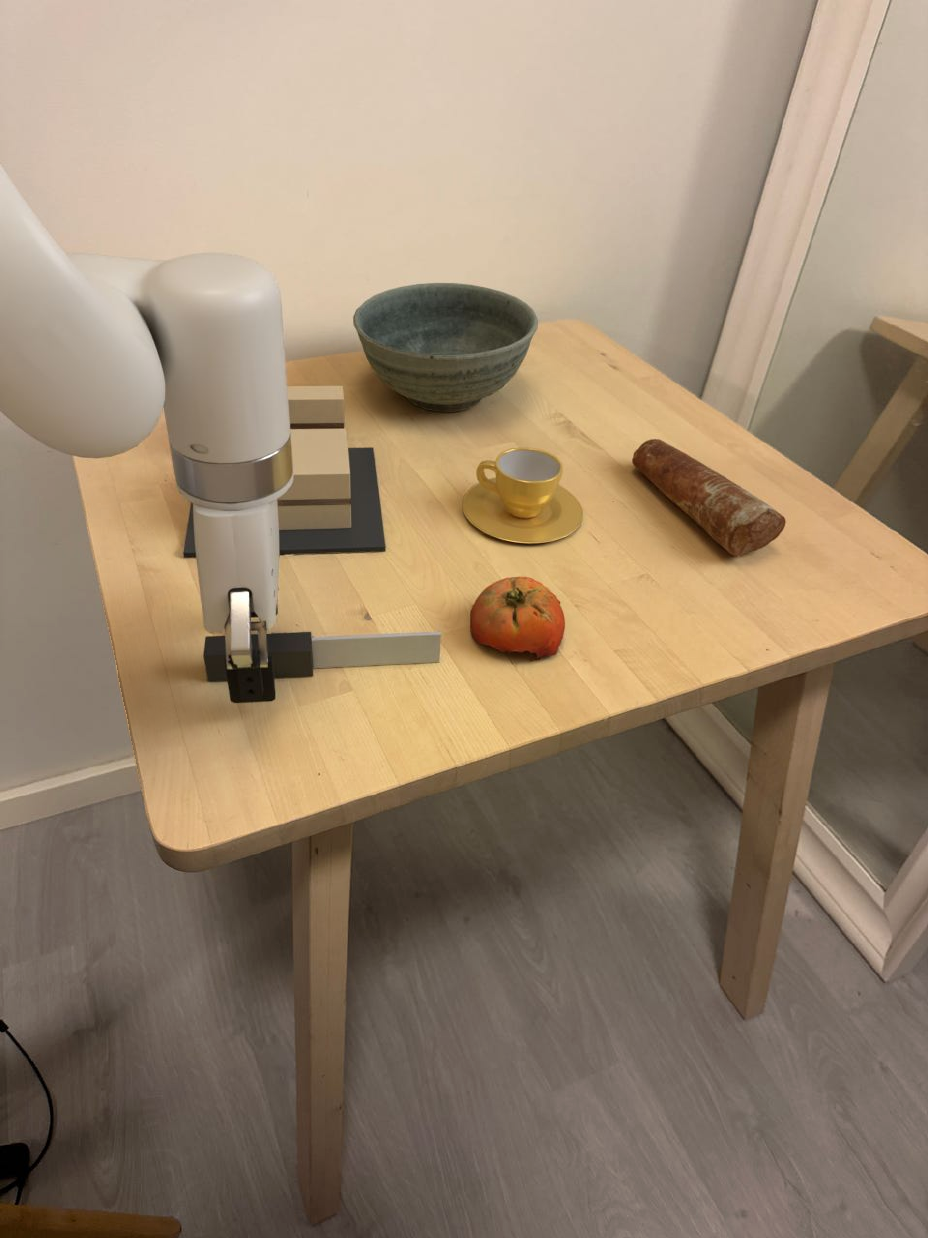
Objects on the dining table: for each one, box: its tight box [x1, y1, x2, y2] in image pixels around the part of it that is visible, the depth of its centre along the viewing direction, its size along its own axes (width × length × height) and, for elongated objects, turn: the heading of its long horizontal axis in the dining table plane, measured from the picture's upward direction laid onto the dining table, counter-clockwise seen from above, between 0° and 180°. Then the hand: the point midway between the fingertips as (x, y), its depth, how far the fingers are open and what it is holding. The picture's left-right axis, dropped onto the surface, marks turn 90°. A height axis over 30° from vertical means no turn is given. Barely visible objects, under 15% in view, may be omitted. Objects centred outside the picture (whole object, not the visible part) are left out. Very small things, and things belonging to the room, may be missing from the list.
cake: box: [182, 428, 387, 559], centre depth 87 cm, size 18×18×7 cm
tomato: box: [469, 576, 566, 663], centre depth 75 cm, size 8×7×7 cm
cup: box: [461, 446, 584, 544], centre depth 88 cm, size 12×12×5 cm
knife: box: [202, 630, 442, 683], centre depth 70 cm, size 18×2×3 cm, turn 98°
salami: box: [631, 438, 786, 557], centre depth 90 cm, size 6×19×6 cm, turn 25°
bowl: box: [352, 282, 539, 413], centre depth 105 cm, size 21×21×10 cm
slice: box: [287, 385, 346, 429], centre depth 94 cm, size 12×3×6 cm, turn 98°
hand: (255, 655), depth 69 cm, fingers open, 9 cm apart
